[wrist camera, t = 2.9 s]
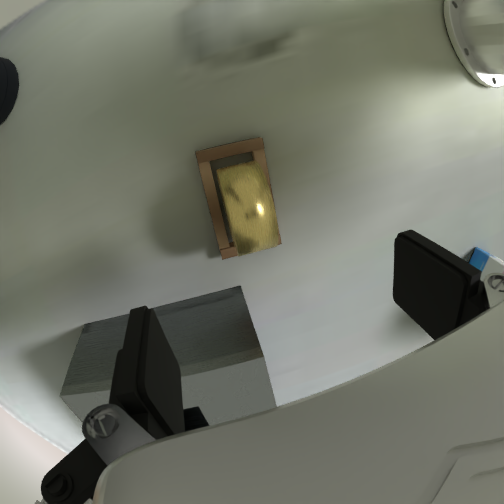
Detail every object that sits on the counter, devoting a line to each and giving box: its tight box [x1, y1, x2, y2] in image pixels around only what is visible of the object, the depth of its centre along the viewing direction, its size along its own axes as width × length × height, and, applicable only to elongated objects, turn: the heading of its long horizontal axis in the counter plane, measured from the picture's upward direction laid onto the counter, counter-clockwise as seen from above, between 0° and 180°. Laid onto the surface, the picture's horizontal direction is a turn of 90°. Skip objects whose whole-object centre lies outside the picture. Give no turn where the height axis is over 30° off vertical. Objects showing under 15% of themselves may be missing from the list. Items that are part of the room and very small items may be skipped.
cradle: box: [195, 137, 282, 260], centre depth 23 cm, size 8×5×1 cm, turn 11°
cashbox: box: [60, 286, 277, 432], centre depth 25 cm, size 15×15×9 cm
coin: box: [216, 160, 279, 256], centre depth 21 cm, size 3×6×6 cm, turn 11°
